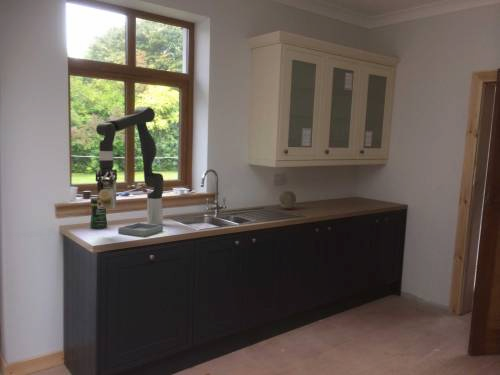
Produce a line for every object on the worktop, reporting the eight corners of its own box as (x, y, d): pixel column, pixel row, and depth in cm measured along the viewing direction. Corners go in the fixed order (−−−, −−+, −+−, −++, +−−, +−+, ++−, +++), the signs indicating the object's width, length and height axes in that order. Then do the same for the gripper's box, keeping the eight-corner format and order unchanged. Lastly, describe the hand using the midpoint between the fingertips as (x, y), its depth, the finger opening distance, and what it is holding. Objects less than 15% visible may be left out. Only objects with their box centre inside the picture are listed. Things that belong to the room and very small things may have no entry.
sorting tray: (138, 228, 265) (138, 222, 264) (162, 231, 257) (162, 225, 257) (118, 233, 248) (118, 227, 248) (143, 237, 241) (143, 231, 241)
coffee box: (96, 208, 238) (96, 179, 236) (100, 206, 244) (100, 178, 242) (113, 208, 238) (113, 180, 236) (117, 207, 244) (116, 178, 243)
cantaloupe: (298, 210, 354) (299, 192, 352) (281, 210, 351) (282, 192, 349) (292, 207, 367) (293, 190, 366) (277, 207, 364) (277, 190, 363)
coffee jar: (92, 229, 258) (91, 198, 257) (89, 226, 265) (88, 196, 263) (108, 227, 264) (108, 197, 262) (105, 225, 270) (105, 196, 268)
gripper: (110, 158, 246) (110, 186, 248) (91, 159, 233) (92, 189, 235) (120, 159, 243) (120, 187, 245) (102, 160, 230) (102, 190, 232)
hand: (106, 188), depth 240 cm, fingers closed on coffee box, 8 cm apart
